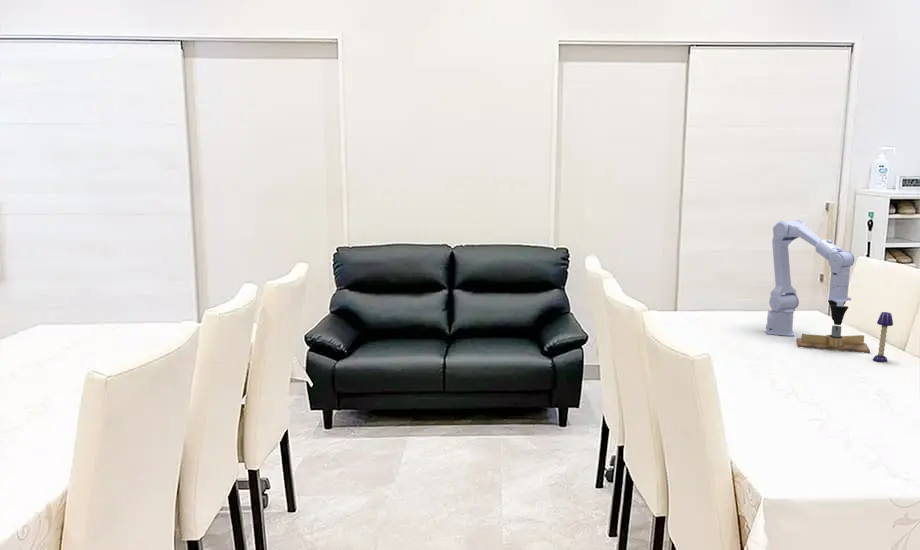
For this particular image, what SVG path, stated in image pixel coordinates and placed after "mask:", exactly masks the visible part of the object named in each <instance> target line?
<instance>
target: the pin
mask: <svg viewBox="0 0 920 550" xmlns="http://www.w3.org/2000/svg"><path fill="white" fill-rule="evenodd" d="M830 335H831V337H832V338H841V336H842V326H841V325H832V326H831V334H830Z"/></svg>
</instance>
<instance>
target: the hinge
mask: <svg viewBox="0 0 920 550" xmlns="http://www.w3.org/2000/svg"><path fill="white" fill-rule="evenodd" d="M801 338H802V340H801V343H809V344H821V345H827V346H830V347H838V348H839V347H845V345H860V344H864V343H865V335H864V334H863V335H860V334H859V335H858V334H857V335H841V338H832V337H831V334H827V335H826V334H825V335H824V334H823V335H819V334H810V333H802V334H801Z"/></svg>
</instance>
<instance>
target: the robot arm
mask: <svg viewBox="0 0 920 550" xmlns="http://www.w3.org/2000/svg"><path fill="white" fill-rule="evenodd" d="M772 233H773V237H772V241H771V242H772V255H773V256H772V257H773V268H774V269H773V272H774V282H775V283H774V284H775V287H774V288H773V289H772V290H771V291H770V297H769V303H768V304H769V306H770V309H771V310H770V309H769V310H767V319H766V321H767V322H766V324H765V329H766V334H767V335H774V336H776V335H777V336H788V337H794V331H793V328H794V327H793V325H794V314H795V313H794V312H795V311H796V309H797V308H798V307H799V304H800V300H799V297H798V295H797V290H796V289H795V288H794V287H793V286H792V280H791V268H790V267H791V266H790V256H789V255H790V254H789V245H790V244H791V243H792V242H793V241H795V240H796V239H798V238H801V239H802V240H804V241H805V242H807V243H809V244H810V245H812V246H813V247H814V248H815V252H816V253H818V254H819V255H820V256H821V257H823V258H824V259H826V260H827V261H828V264H829V266H830V272H831V274H830V275H831V276H830V285H829V296H828V300H827V302H828V304H829V307H830V312H831V313H830V314H831V315H830V317H831V320H832V321H833V324H834V325H836V326H841V325H842V323H843V320H844V317H845V314H846V312H847V310H848V309H849V306H848V305H846V306H845V304H846V302H848V301H852V298H851V297H849V296H848V295H849V284H850V283H849V282H850V273H851V272H850V271H851V267H852V266H853V265H854V264H855V256H854V254H853V253H852V252H851V251H850V250H843V248H842V247H840V246H837V245H836V244H835V243H833V241H832V239H826V238H825V239H822V238H820V236H818V235H817V234H816V233H815V232H814V231H812V230H811V229H810V228H808V227H807V224H806V223H804V222H803V221H801V220H799V219H796V220H786V221H783V220H780V221H778V222H776V223H775V225H774V226H773V227H772ZM834 325H833V326H834Z"/></svg>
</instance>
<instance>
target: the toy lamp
mask: <svg viewBox="0 0 920 550" xmlns="http://www.w3.org/2000/svg"><path fill="white" fill-rule="evenodd" d="M877 319H878V320H877V321H876V323H877V325H880V326H881V329H880V338H879V343H878V344H879V345H878V346H879V347H878V352H877V354H876V355H874V357H873V359H872V360H873V361H874V362H877V361H878V362H879V363H887V362H888V358H887V357H886V356H885V351H886V350H885V349H886V347H885V346H886V342H887V341H886V340H887V339H886V338H887V333H888V327H892V326H894V321H893V315H892V313H891V312H886V311H882V312H880V315H879V317H878V318H877Z"/></svg>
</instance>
